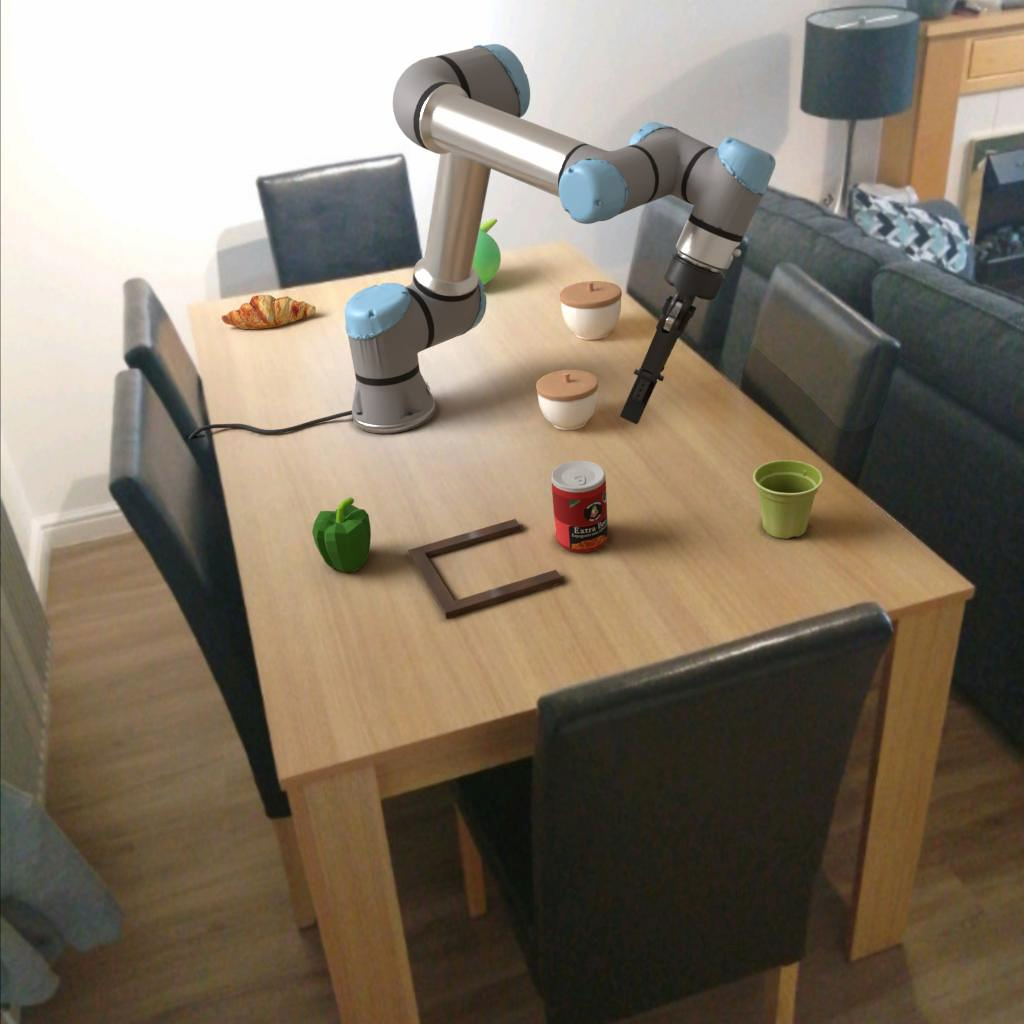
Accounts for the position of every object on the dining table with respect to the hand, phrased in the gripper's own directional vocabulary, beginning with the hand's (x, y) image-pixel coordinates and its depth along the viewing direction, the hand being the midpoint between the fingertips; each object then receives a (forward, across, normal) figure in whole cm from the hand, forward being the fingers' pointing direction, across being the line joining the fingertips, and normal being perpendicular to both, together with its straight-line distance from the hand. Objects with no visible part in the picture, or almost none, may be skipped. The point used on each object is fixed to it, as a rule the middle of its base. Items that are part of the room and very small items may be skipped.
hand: (629, 419), depth 146 cm
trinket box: (+16, +33, +12) cm, 38 cm away
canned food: (+19, -2, -1) cm, 19 cm away
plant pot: (+7, +5, -27) cm, 28 cm away
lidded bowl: (+9, +72, +20) cm, 75 cm away
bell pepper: (+34, -13, +28) cm, 46 cm away
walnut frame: (+25, -11, +9) cm, 29 cm away
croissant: (+38, +72, +89) cm, 120 cm away
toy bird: (+18, +96, +56) cm, 113 cm away
